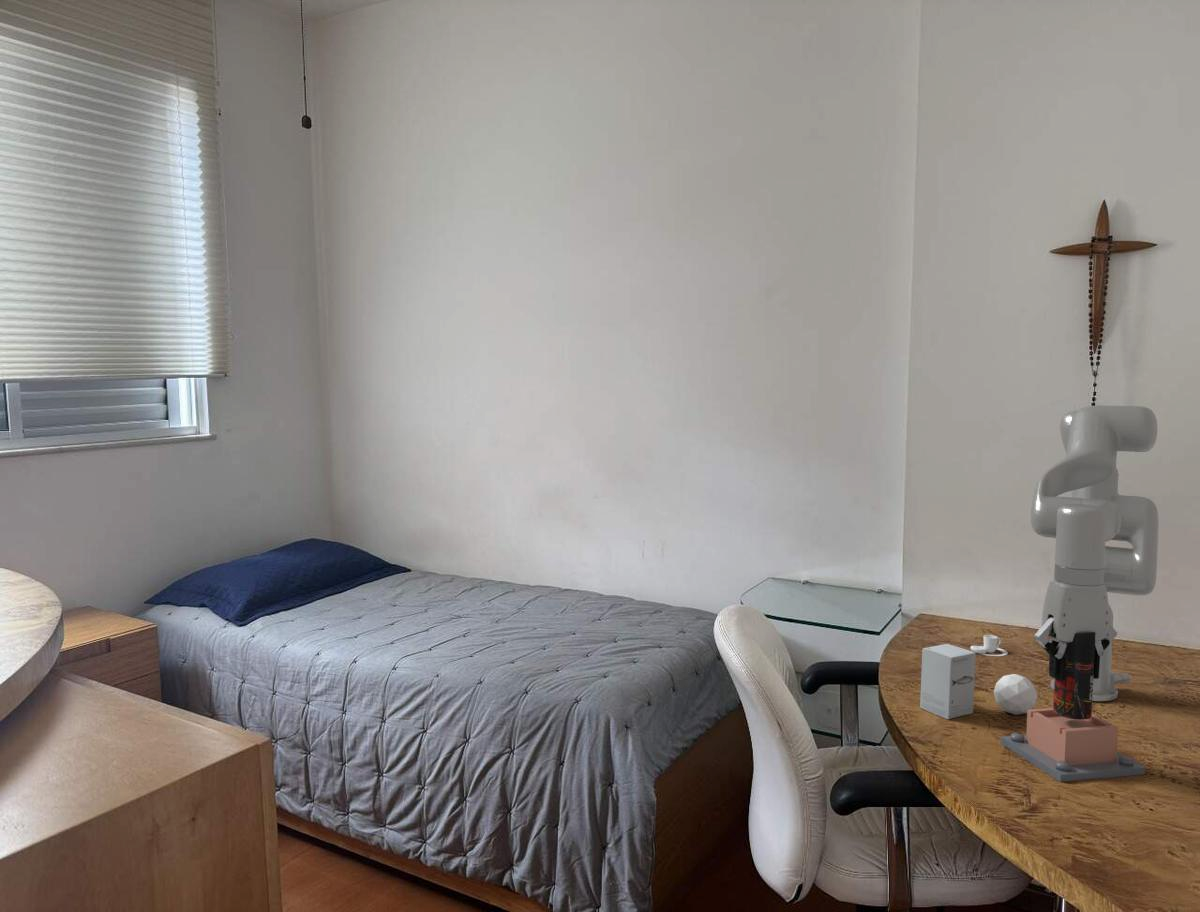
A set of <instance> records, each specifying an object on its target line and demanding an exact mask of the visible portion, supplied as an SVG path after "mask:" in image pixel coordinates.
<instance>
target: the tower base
mask: <svg viewBox="0 0 1200 912" xmlns="http://www.w3.org/2000/svg"><path fill="white" fill-rule="evenodd" d="M1118 736H1119V726H1117V725H1114V724H1113V725H1112V723H1111V722H1109V721H1107V720H1105V719H1103V718H1101V717H1099V716H1097V715H1095V714H1093V713H1092V716H1091V718H1090V719H1085V720H1077V719H1070V718H1066V717H1062V716H1060V715H1058V714H1056V713H1055V712H1054V711H1053V707H1046V708H1032V709H1029V710H1027V713H1026V734H1022V733H1019V732H1012V733H1011V734H1010V735H1003V736H1000V744H1002V745H1003V746H1005V747H1006V748H1008V749H1009V750H1011V751H1012V752H1014V753H1015V754H1017V755H1019V756H1020V757H1021V758H1023V759H1025V760H1026V761H1028V762H1029V763H1031V764H1032V765H1034V766H1035V767H1037V768H1038V769H1040V770H1041V771H1043V772H1044V773H1046V774H1047V775H1049V776H1050V777H1052V778H1054V779H1055V780H1057V781H1059V782H1060V783H1063V782H1073V781H1074V782H1075V781H1084V780H1085V781H1086V780H1095V779H1108V778H1110V779H1111V778H1117V777H1118V778H1119V777H1133V776H1141V775H1145V774H1146V767H1145V766H1143V765H1141V764H1139V763H1138V762H1136V761H1135V759H1134V758H1133V757H1131V756H1128V755H1124V754H1121V752H1118V741H1119V739H1118V738H1119V737H1118Z"/></svg>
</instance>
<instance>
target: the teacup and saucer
mask: <svg viewBox="0 0 1200 912" xmlns="http://www.w3.org/2000/svg"><path fill="white" fill-rule="evenodd" d="M998 641H999V642H998ZM1001 644H1002V639H1001V638H1000V637H998V636H996V635H992V634H984V635H983V645H971V646H970V651H972V652H975V653H976V654H979V655H983V656H988V657H1005V656H1007V655H1008V654H1009V652H1008V651H1007V650H1006V649H1002V648H1001V647H1000V645H1001ZM996 650H998V651H1000V652H1002V653H1001V654H993V653H995V652H996ZM986 653H987V654H986ZM990 653H991V654H990Z"/></svg>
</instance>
